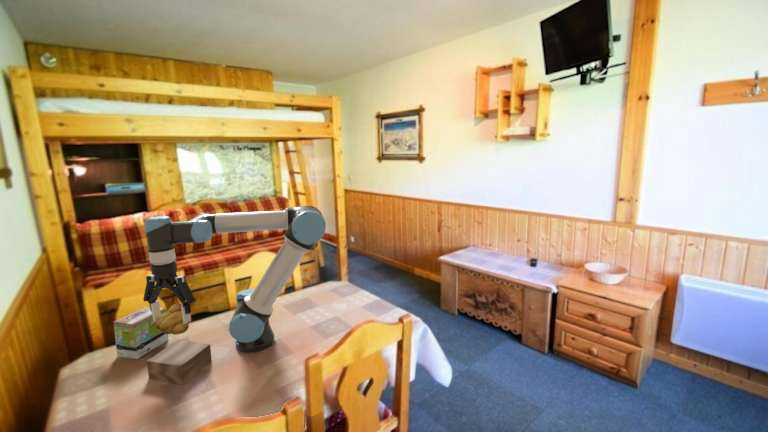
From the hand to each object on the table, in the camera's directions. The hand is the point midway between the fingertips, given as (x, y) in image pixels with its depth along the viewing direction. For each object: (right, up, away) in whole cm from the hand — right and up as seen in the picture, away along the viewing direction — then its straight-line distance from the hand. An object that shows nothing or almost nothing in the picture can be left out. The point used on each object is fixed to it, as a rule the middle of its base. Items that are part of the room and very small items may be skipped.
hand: (172, 320), depth 121 cm
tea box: (-23, -17, +19) cm, 34 cm away
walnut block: (+1, -19, +4) cm, 20 cm away
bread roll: (0, -4, +1) cm, 4 cm away
